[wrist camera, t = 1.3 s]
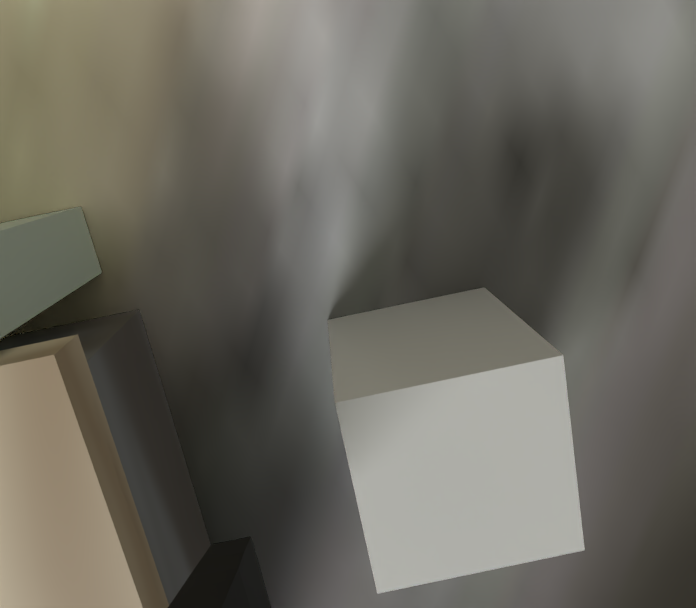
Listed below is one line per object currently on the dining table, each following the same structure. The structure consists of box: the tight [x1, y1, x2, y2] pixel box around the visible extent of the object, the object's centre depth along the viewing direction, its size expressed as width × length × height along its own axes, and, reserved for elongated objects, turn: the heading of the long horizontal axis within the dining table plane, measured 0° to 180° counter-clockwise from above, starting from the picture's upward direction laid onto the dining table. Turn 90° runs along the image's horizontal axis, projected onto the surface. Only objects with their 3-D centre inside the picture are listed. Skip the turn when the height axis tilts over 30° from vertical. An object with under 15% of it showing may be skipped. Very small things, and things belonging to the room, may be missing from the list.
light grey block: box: [327, 287, 585, 594], centre depth 13 cm, size 4×4×5 cm
